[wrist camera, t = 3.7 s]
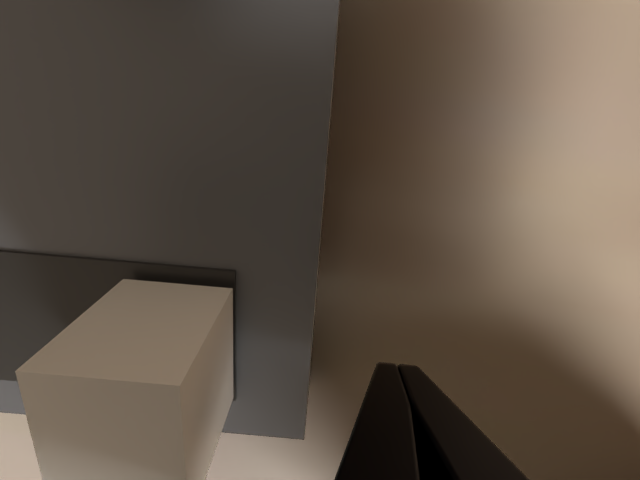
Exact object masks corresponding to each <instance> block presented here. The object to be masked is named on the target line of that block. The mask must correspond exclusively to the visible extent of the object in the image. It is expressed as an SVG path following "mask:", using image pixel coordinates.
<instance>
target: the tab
mask: <svg viewBox="0 0 640 480" xmlns="http://www.w3.org/2000/svg"><path fill="white" fill-rule="evenodd" d="M15 373H16V377H17V381H18V385H19V389H20V393H21V397H22V401H23V405H24V408H25V412H26V416H27V420H28V424H29V428H30V432H31V436H32V440H33V444H34V448H35V452H36V456H37V460H38V464H39V468H40V472H41V476H42V480H205V479H206V476H207V473H208V470H209V467H210V464H211V461H212V458H213V455H214V453H215V450H216V447H217V444H218V441H219V438H220V435H221V432H222V429H223V426H224V423H225V420H226V418H227V415H228V412H229V409H230V406H231V403H232V400H233V288H223V287H211V286H200V285H188V284H176V283H165V282H153V281H142V280H130V279H123V280H121V281H120V282H119V283H118V284H117V285H116V286H114V287H113V288H112V289H111V290H110V291H109V292H107V293H106V294H105V295H104V296H103V297H102V298H100V299H99V300H98V301H97V302H96V303H94V304H93V305H92V306H91V307H90V308H89V309H87V310H86V311H85V312H84V313H83V314H82V315H80V316H79V317H78V318H77V319H76V320H75V321H73V322H72V323H71V324H70V325H69V326H67V327H66V328H65V329H64V330H63V331H62V332H60V333H59V334H58V335H57V336H56V337H55V338H53V339H52V340H51V341H50V342H49V343H48V344H46V345H45V346H44V347H43V348H42V349H41V350H39V351H38V352H37V353H36V354H35V355H33V356H32V357H31V358H30V359H29V360H28V361H26V362H25V363H24V364H23V365H22V366H21V367H19V368H18V369H17V370H16V371H15Z"/></svg>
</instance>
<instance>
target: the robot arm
mask: <svg viewBox="0 0 640 480" xmlns="http://www.w3.org/2000/svg"><path fill="white" fill-rule="evenodd" d="M335 480H529V479H528V478H527V477H526V476H525V475H524V474H523V473H522V472H521V471H520V470H519V469H518V468H517V467H516V466H515V465H514V464H513V463H512V462H511V461H510V460H509V459H508V458H507V457H506V456H505V455H504V454H503V453H502V452H501V451H500V450H499V449H498V448H497V446H496V445H495V444H494V443H493V442H492V441H491V440H490V439H489V438H488V437H487V436H486V435H485V434H484V433H483V432H482V431H481V430H480V429H479V428H478V427H477V426H476V425H475V424H474V423H473V422H472V421H471V420H470V419H469V418H468V417H467V416H466V415H465V414H464V413H463V412H462V411H461V410H460V409H459V408H458V407H457V406H456V405H455V404H454V403H453V402H452V401H451V400H450V399H449V398H448V397H447V396H446V395H445V394H444V393H443V392H442V391H441V390H440V389H439V388H438V387H437V385H436V384H435V383H434V382H433V381H432V380H431V379H430V378H429V377H428V376H427V375H426V374H425V373H424V372H423V371H422V370H421V369H420V368H419V367H417V366H415V365H404V364H399V365H398V366H397V365H396V364H393V363H382V362H379V363H377V364H376V367H375V370H374V372H373V375H372V378H371V381H370V383H369V386H368V389H367V392H366V394H365V397H364V400H363V403H362V405H361V408H360V411H359V414H358V416H357V419H356V422H355V425H354V427H353V430H352V433H351V436H350V438H349V441H348V444H347V447H346V449H345V452H344V455H343V458H342V460H341V463H340V466H339V469H338V471H337V474H336V477H335Z"/></svg>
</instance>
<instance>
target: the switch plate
mask: <svg viewBox="0 0 640 480" xmlns="http://www.w3.org/2000/svg"><path fill="white" fill-rule="evenodd" d="M339 10H340V0H0V412H3V413H15V414H26V412H25V408H24V405H23V401H22V397H21V393H20V389H19V385H18V381H17V377H16V373H15V371H16V370H17V369H18V368H19V367H21V366H22V365H23V364H24V363H25V362H26V361H28V360H29V359H30V358H31V357H32V356H33V355H35V354H36V353H37V352H38V351H39V350H41V349H42V348H43V347H44V346H45V345H46V344H48V343H49V342H50V341H51V340H52V339H53V338H55V337H56V336H57V335H58V334H59V333H60V332H62V331H63V330H64V329H65V328H66V327H67V326H69V325H70V324H71V323H72V322H73V321H75V320H76V319H77V318H78V317H79V316H80V315H82V314H83V313H84V312H85V311H86V310H87V309H89V308H90V307H91V306H92V305H93V304H94V303H96V302H97V301H98V300H99V299H100V298H102V297H103V296H104V295H105V294H106V293H107V292H109V291H110V290H111V289H112V288H113V287H114V286H116V285H117V284H118V283H119V282H120V281H121V280H123V279H130V280H142V281H153V282H165V283H176V284H188V285H200V286H211V287H223V288H233V400H232V403H231V406H230V409H229V412H228V415H227V418H226V420H225V423H224V426H223V429H222V432H224V433H236V434H247V435H258V436H269V437H280V438H291V439H302V440H304V435H305V424H306V414H307V403H308V393H309V381H310V369H311V357H312V344H313V332H314V319H315V307H316V295H317V282H318V270H319V258H320V245H321V233H322V220H323V208H324V196H325V183H326V171H327V158H328V146H329V134H330V121H331V109H332V97H333V84H334V72H335V59H336V47H337V35H338V22H339Z"/></svg>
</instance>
